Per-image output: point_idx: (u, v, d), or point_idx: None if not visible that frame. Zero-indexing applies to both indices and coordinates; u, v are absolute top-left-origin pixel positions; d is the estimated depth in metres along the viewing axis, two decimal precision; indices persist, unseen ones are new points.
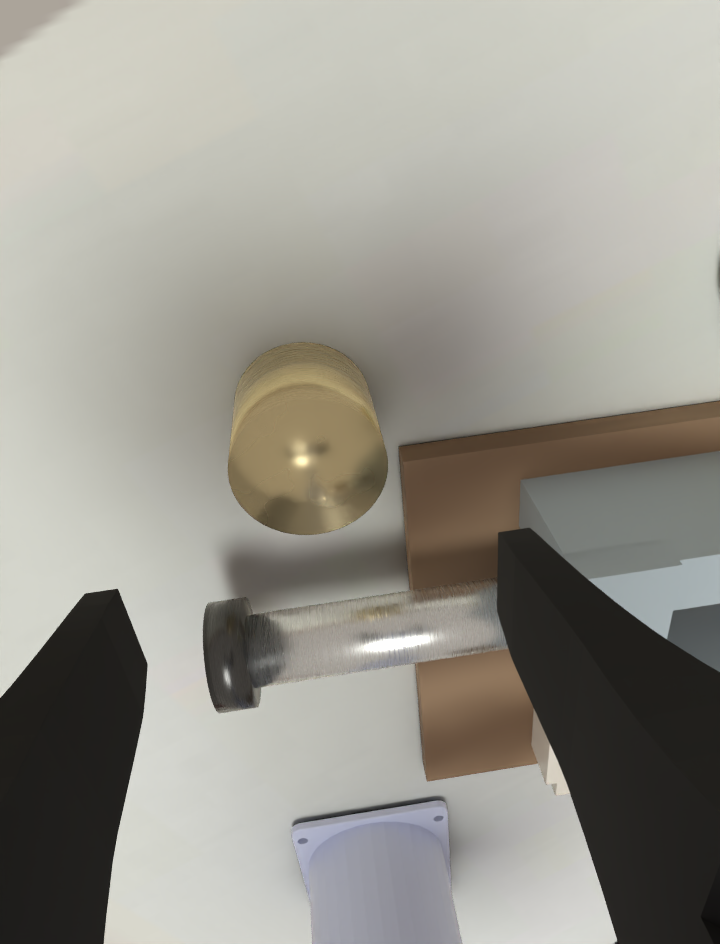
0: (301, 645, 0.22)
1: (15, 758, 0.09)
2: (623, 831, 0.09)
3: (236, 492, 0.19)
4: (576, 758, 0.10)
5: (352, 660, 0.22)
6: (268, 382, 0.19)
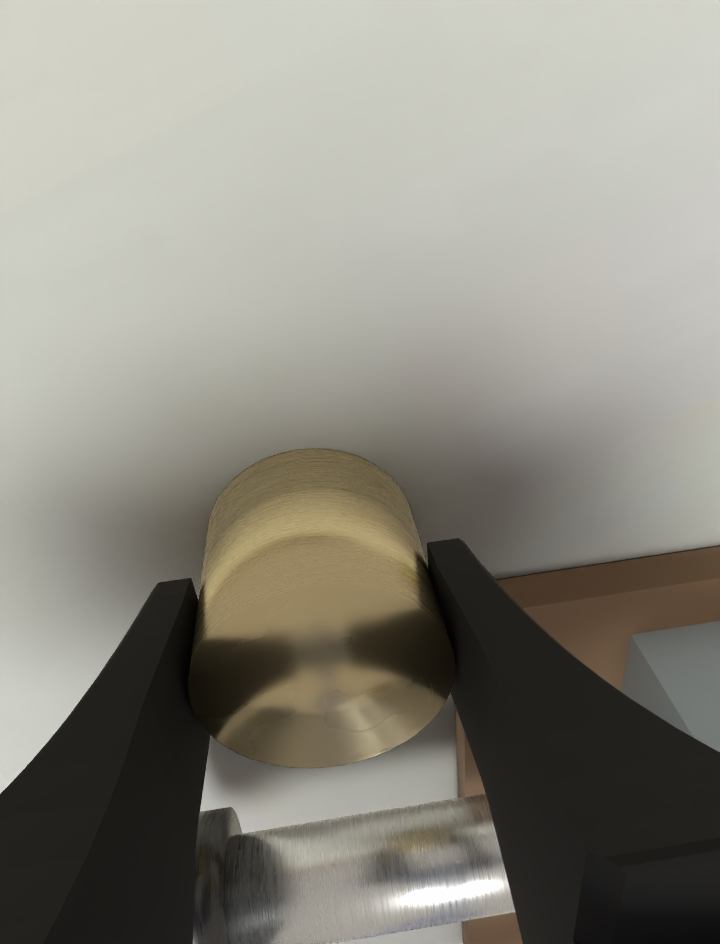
0: (309, 905, 0.14)
1: (119, 742, 0.09)
2: (522, 849, 0.09)
3: (202, 718, 0.11)
4: (490, 772, 0.10)
5: (387, 924, 0.14)
6: (257, 534, 0.11)
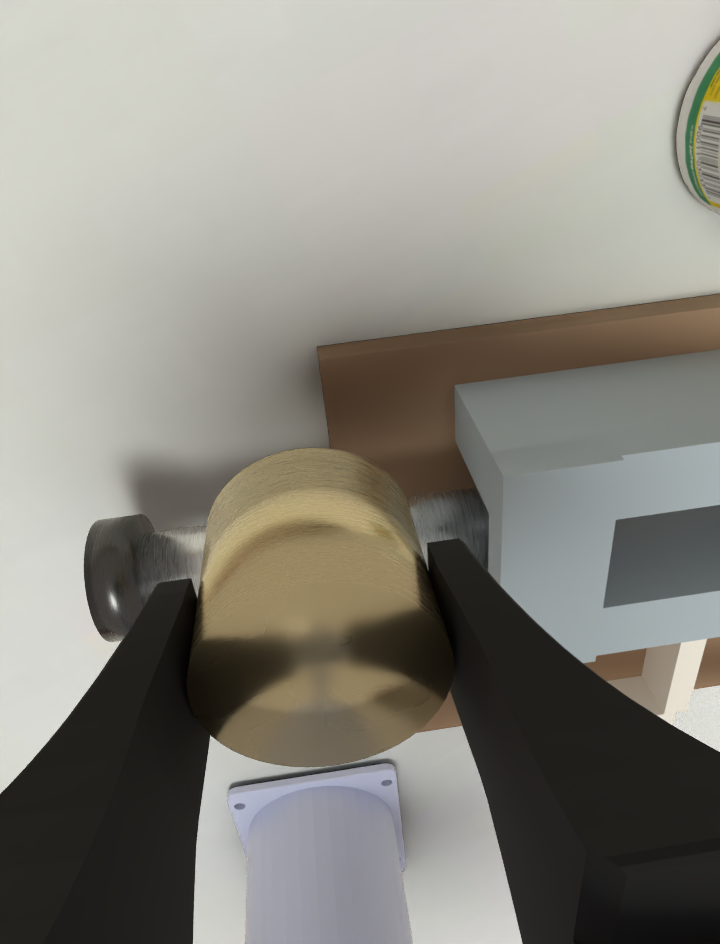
0: (199, 563, 0.19)
1: (119, 743, 0.09)
2: (522, 848, 0.09)
3: (201, 717, 0.11)
4: (490, 772, 0.10)
5: None
6: (255, 532, 0.11)
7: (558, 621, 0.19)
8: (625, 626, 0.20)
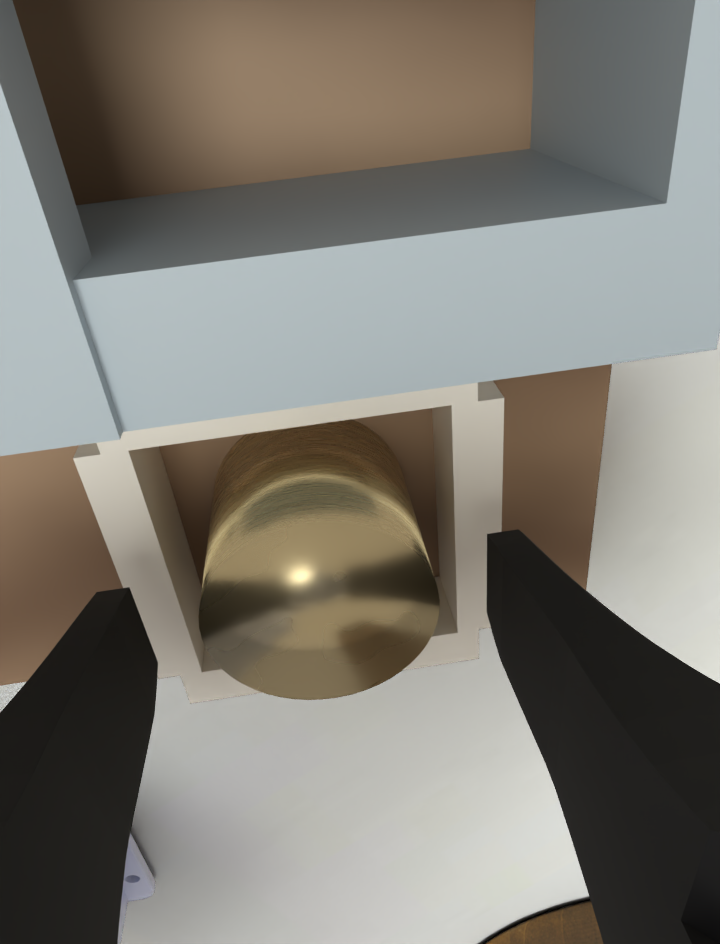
0: None
1: (32, 756, 0.09)
2: (606, 834, 0.09)
3: (212, 651, 0.12)
4: (563, 760, 0.10)
5: None
6: (258, 484, 0.13)
7: None
8: (170, 345, 0.08)
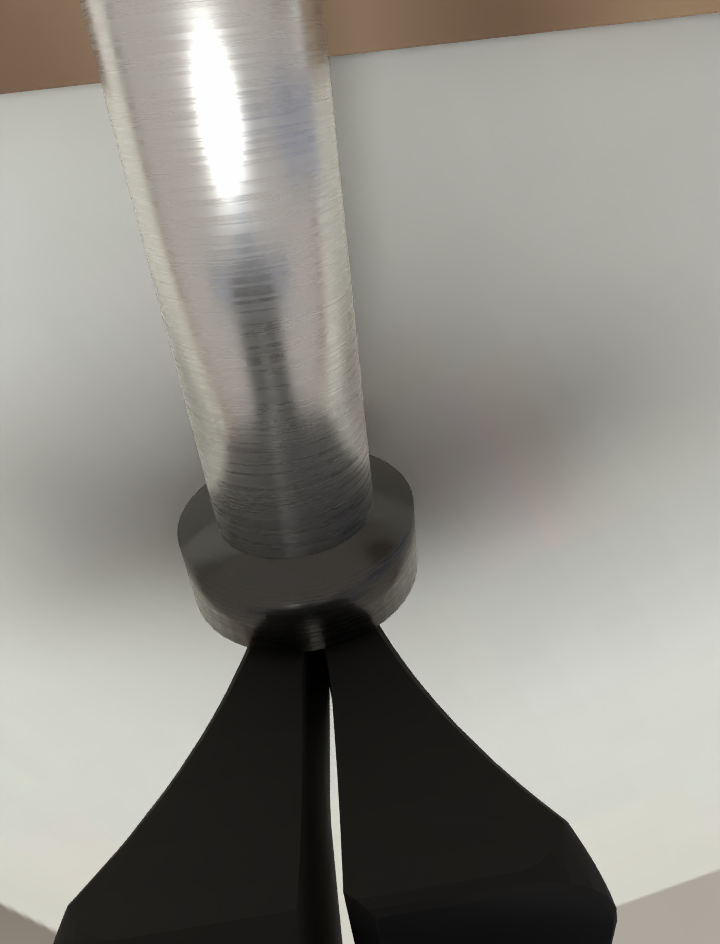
0: (213, 444, 0.09)
1: (287, 715, 0.09)
2: None
3: None
4: None
5: (244, 331, 0.08)
6: None
7: None
8: None
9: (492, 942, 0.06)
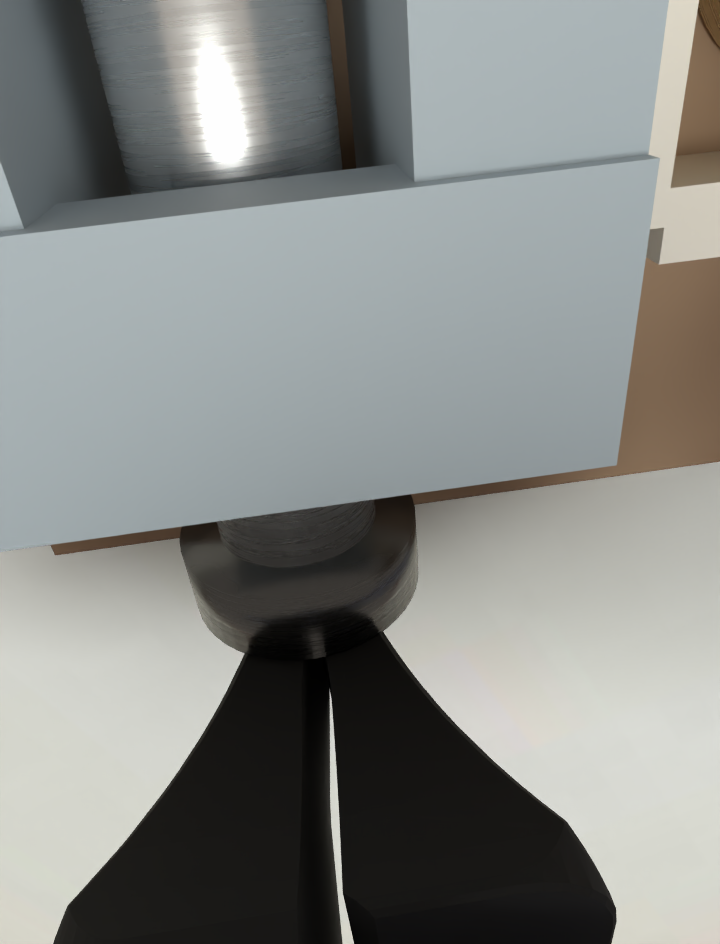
0: None
1: (287, 716, 0.09)
2: None
3: None
4: None
5: None
6: None
7: (430, 335, 0.06)
8: (527, 45, 0.05)
9: (492, 943, 0.06)
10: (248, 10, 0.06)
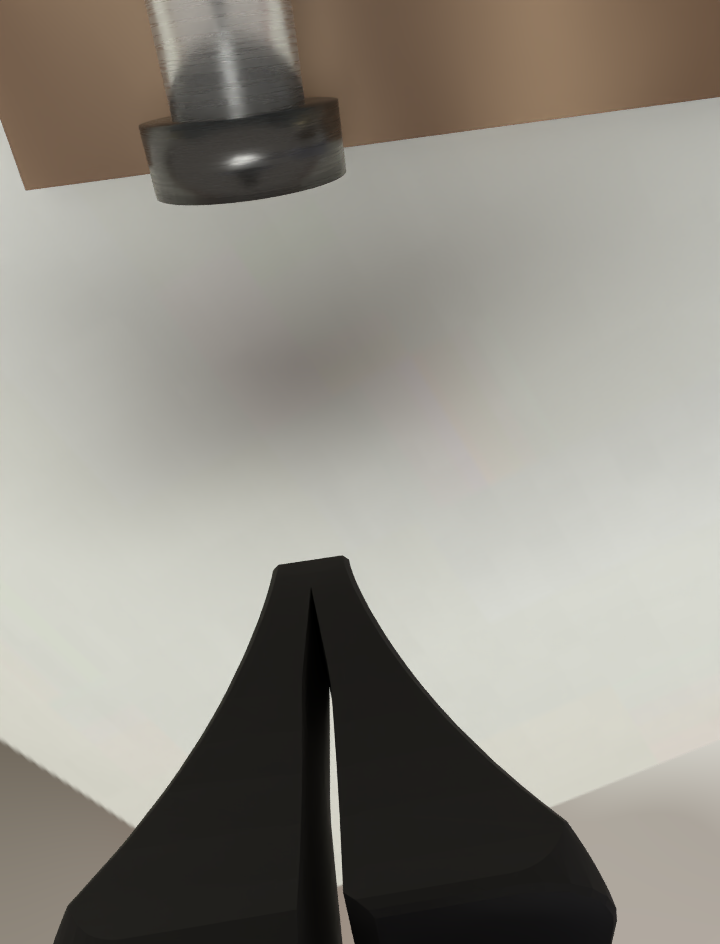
0: None
1: (287, 715, 0.09)
2: None
3: None
4: None
5: None
6: None
7: None
8: None
9: (492, 941, 0.06)
10: None
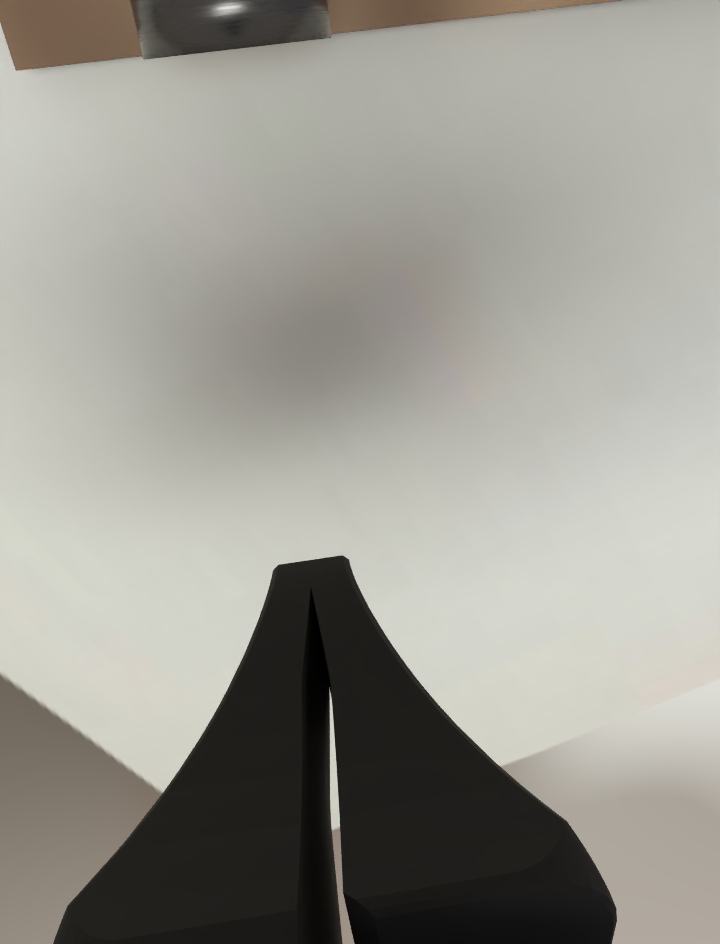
0: None
1: (287, 716, 0.09)
2: None
3: None
4: None
5: None
6: None
7: None
8: None
9: (492, 943, 0.06)
10: None
